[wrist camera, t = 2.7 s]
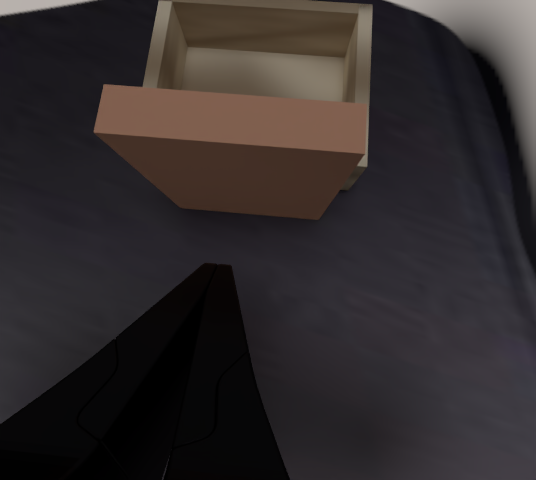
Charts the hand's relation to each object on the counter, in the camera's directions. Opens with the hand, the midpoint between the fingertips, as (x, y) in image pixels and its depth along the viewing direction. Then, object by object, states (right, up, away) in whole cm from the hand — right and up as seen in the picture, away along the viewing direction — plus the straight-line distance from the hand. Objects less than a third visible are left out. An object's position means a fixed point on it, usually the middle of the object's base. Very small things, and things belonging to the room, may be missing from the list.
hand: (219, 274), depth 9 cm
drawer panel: (+1, +3, +7) cm, 8 cm away
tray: (+1, +9, +8) cm, 12 cm away
